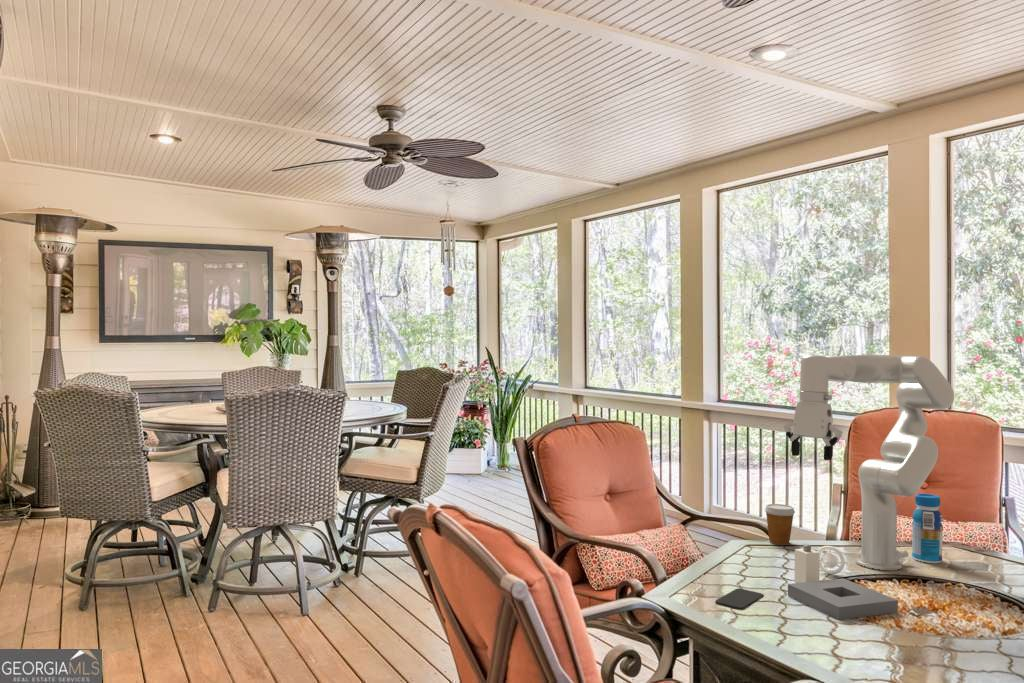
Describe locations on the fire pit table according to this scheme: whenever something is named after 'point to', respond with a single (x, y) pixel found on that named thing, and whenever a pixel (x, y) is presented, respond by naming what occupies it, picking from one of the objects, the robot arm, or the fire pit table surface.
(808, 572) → the plug
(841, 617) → the socket plate
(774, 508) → the disposable coffee cup
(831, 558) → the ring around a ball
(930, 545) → the beverage bottle
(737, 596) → the phone
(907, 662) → the fire pit table surface
